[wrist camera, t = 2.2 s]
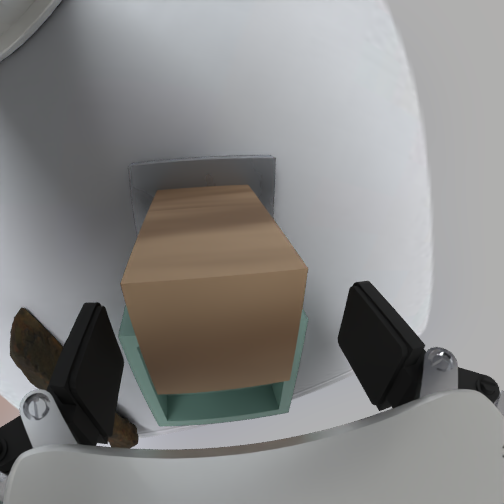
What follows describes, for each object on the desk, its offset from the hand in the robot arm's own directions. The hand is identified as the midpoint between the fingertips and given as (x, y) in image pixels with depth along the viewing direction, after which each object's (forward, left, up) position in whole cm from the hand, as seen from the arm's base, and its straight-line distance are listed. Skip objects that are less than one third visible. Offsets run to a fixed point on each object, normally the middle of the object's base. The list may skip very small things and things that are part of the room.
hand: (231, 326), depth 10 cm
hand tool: (+14, -15, -9) cm, 22 cm away
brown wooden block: (-1, -1, -7) cm, 7 cm away
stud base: (-1, -1, -8) cm, 8 cm away
